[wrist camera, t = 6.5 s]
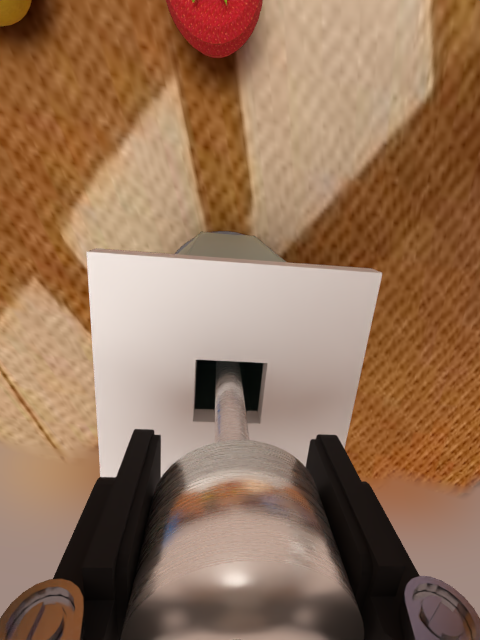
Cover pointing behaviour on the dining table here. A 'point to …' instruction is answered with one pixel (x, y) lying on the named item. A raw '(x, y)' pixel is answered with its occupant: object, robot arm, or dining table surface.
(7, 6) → the lemon
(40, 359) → the dining table surface
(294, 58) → the dining table surface
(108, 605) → the robot arm
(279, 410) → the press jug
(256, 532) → the plunger
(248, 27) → the strawberry
